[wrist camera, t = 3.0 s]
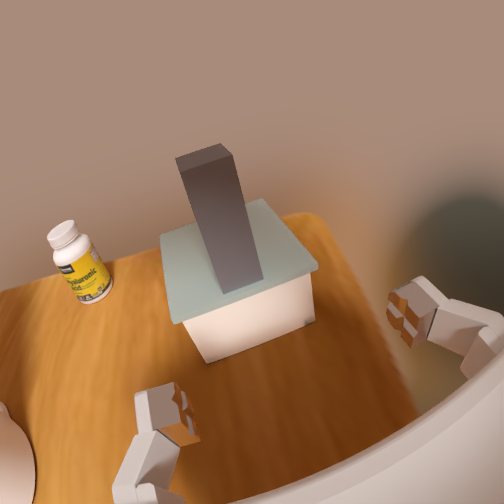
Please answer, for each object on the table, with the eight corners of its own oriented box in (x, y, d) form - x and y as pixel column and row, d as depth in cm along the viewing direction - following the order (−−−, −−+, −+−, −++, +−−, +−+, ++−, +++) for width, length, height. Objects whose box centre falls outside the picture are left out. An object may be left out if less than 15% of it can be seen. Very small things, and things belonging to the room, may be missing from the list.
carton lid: (318, 269, 22) (301, 137, 17) (174, 324, 21) (111, 202, 15) (263, 203, 32) (242, 111, 26) (161, 239, 31) (124, 150, 25)
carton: (315, 321, 26) (309, 269, 23) (206, 364, 25) (180, 319, 22) (270, 254, 35) (260, 208, 32) (186, 285, 34) (166, 242, 30)
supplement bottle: (78, 311, 34) (36, 249, 28) (82, 285, 38) (47, 227, 33) (114, 297, 35) (75, 230, 29) (114, 271, 39) (82, 210, 33)
